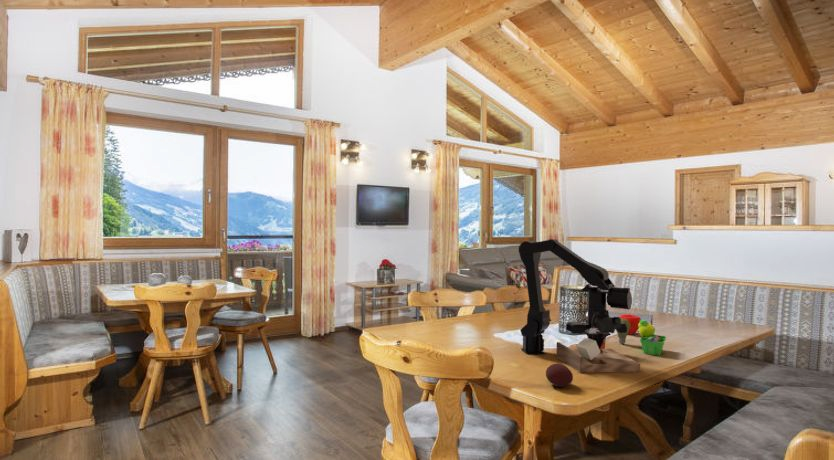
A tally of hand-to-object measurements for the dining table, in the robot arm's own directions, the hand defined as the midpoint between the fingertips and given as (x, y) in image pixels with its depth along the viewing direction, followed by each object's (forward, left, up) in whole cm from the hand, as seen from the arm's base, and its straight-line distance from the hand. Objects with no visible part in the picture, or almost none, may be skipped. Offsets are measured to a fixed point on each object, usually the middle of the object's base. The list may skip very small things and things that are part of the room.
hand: (596, 353), depth 159 cm
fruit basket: (+28, +14, -4) cm, 31 cm away
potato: (-21, -19, -4) cm, 29 cm away
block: (-3, -1, 0) cm, 3 cm away
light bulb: (+23, +25, -4) cm, 34 cm away
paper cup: (+8, +16, -4) cm, 18 cm away
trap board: (0, 0, -3) cm, 3 cm away
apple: (+36, +42, -4) cm, 55 cm away
